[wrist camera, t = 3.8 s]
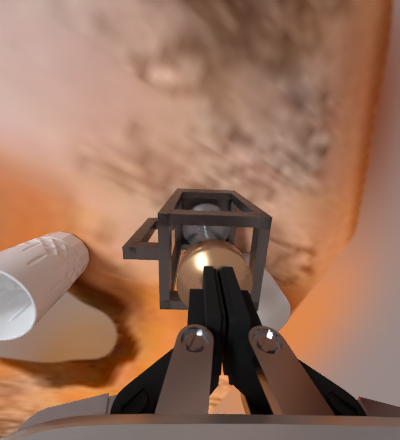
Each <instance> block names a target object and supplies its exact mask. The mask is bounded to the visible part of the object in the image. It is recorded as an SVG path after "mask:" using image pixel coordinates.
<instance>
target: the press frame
mask: <svg viewBox="0 0 400 440" xmlns="http://www.w3.org/2000/svg"><path fill="white" fill-rule="evenodd" d="M202 203H211V204H214V205H217V206H219V207H220V208H221V209H222V210H223V211H202V210H190V209H191V208H192V207H194V206H196V205H198V204H202ZM237 207H238V208H239V209H240V210H241V211H242V212H237ZM271 222H272V217H271V216H269V215H268V214H267V213H265V212H264V211H262V210H261V209H260V208H258V207H257V206H255V205H254V204H252V203H251V202H250V201H248V200H247V199H245V198H244V197H243V196H241V195H240V194H238V193H237V192H236V191H228V190H202V189H177V190H176V191H175V192H174V194H173V195H172V196H171V197H170V199H169V200H168V201H167V202H166V204H165V205H164V206H163V207H162V209H161V210H160V211H159V212H158V218H148V219H147V220H146V221H145V222H144V224H143V225H142V226H141V227H140V228H139V229H138V230H137V231H136V232H135V234H134V235H133V236H132V237H131V238H130V239H129V240H128V241H127V242H126V244H125V245H124V246H123V247H122V248H123V259H139V260H159V292H160V309H177V310H188V307H187V306H186V305H185V304H184V303H183V302H182V300H181V299H180V297H179V294H178V291H174V289H175V284H176V278H177V273H178V267H179V262H180V256H181V250H188V249H189V248H190V247H191V246H192V245H191V244H190V243H189V242H188V241H187V240H186V238H185V236H184V234H183V225H199V226H229V227H230V232H229V235H228V237H227V239H226V240H225V241H227V242H229V243H231V244H233V245H234V236H235V227H254V229H253V237H252V245H251V253H250V261H249V268H250V271H251V273H252V277H253V287H252V291H251V293H250V296H251V299H252V301H253V304H254V306H255V309H256V311H258V307H259V300H260V294H261V287H262V281H263V274H264V268H265V261H266V255H267V248H268V241H269V235H270V228H271ZM174 228H175V246H174V250H173V253H172V230H174ZM156 229H158V243H152V242H148V241H149V239H150V238H151V236H152V234H153V233H154V231H155V230H156Z"/></svg>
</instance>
